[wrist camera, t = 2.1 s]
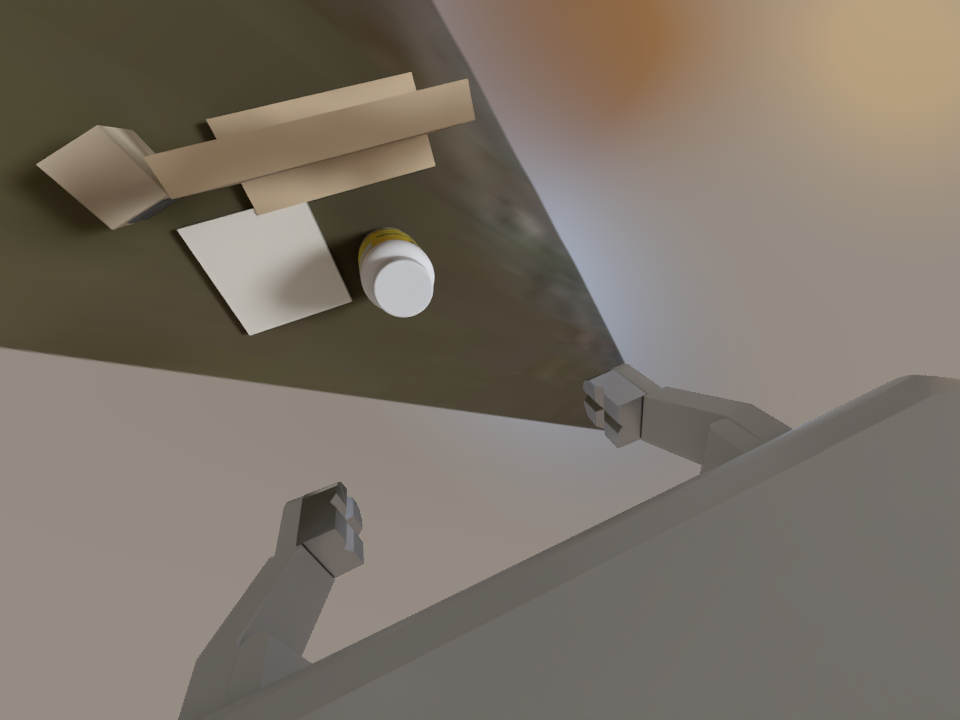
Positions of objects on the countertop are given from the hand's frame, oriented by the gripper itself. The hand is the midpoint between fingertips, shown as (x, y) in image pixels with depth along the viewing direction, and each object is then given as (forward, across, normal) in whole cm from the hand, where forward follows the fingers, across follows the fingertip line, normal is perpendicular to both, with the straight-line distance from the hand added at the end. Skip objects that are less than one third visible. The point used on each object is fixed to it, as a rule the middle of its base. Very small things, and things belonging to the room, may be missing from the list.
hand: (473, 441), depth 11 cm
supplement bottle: (+25, 0, 0) cm, 25 cm away
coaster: (+25, +9, -2) cm, 26 cm away
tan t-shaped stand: (+25, +1, -9) cm, 26 cm away
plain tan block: (+25, +14, -10) cm, 30 cm away
